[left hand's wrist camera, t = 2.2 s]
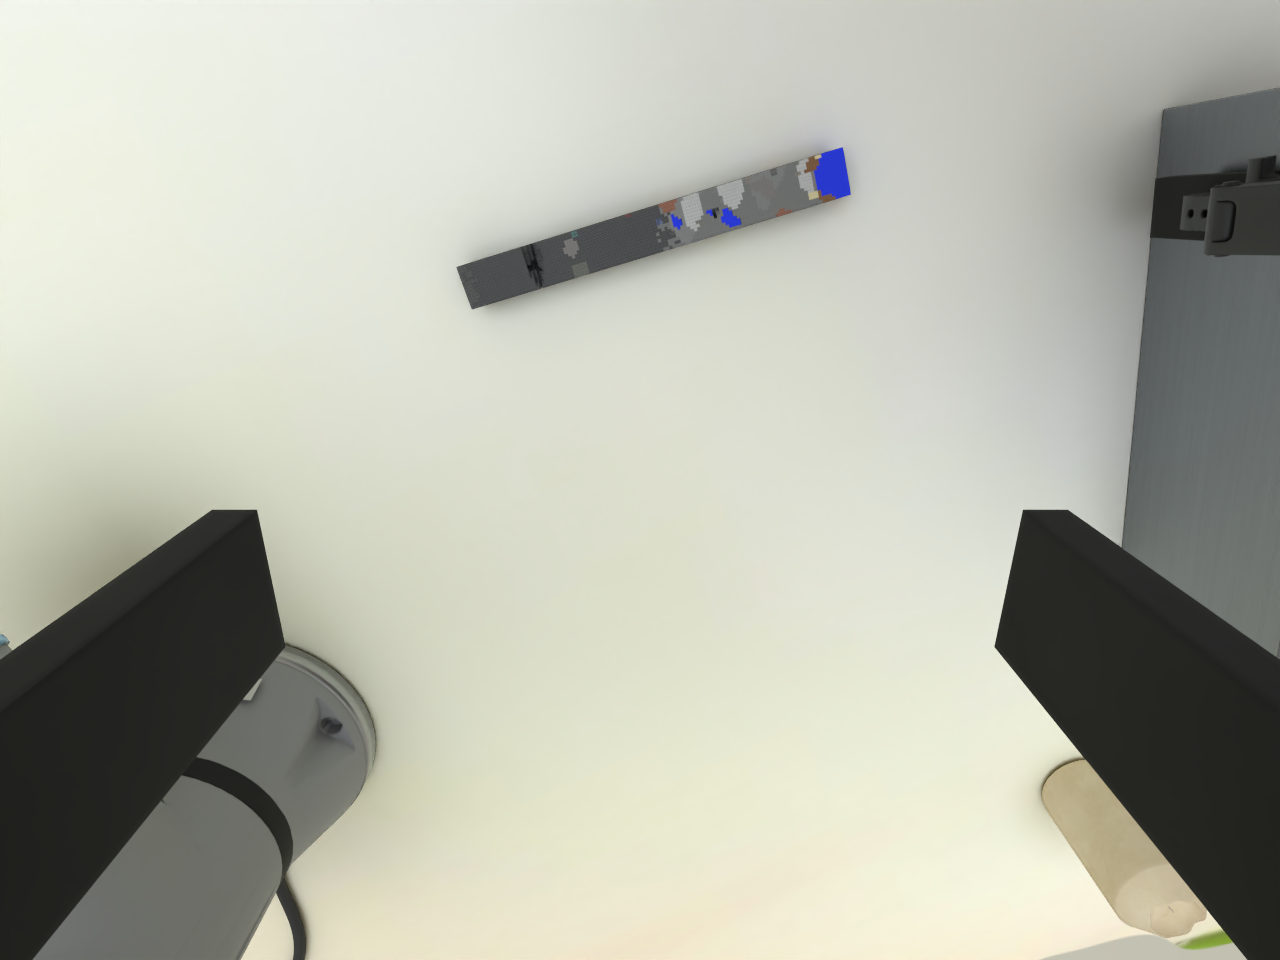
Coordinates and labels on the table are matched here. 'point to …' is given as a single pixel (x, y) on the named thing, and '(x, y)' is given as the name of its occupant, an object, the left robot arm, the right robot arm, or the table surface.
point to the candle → (1119, 854)
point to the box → (1211, 391)
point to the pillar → (657, 228)
